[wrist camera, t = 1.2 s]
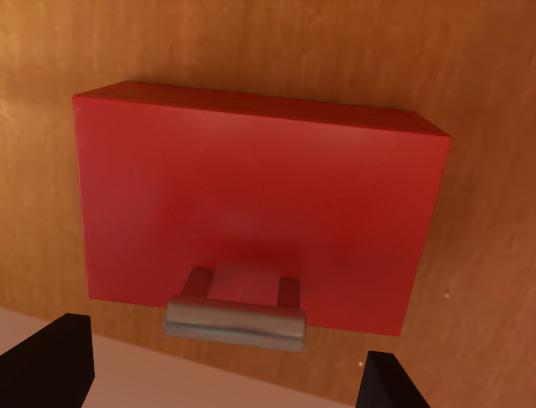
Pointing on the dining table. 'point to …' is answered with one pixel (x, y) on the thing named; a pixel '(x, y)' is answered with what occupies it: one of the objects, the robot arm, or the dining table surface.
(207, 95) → the red rectangular open box
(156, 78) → the dining table surface
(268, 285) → the red box lid
